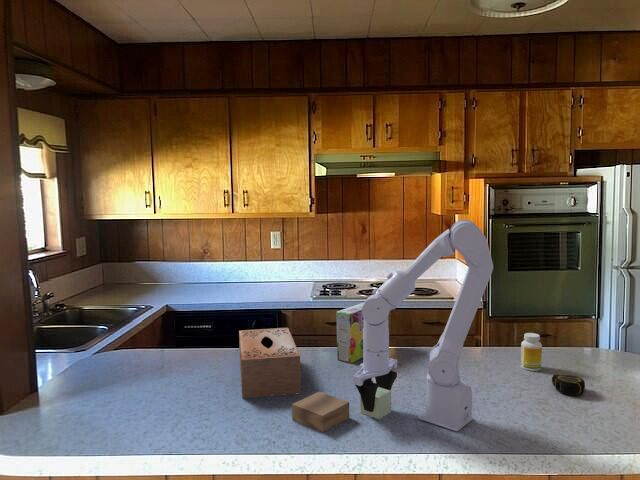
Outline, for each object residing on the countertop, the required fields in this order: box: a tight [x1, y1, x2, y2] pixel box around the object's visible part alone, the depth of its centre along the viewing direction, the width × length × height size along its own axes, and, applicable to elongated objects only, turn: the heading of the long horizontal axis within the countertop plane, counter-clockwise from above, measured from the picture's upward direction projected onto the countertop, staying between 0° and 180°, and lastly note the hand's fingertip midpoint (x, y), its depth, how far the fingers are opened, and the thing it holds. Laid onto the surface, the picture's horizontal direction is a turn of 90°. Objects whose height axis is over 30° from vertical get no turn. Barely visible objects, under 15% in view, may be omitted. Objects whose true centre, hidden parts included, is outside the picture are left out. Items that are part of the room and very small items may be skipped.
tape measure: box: [551, 374, 586, 396], centre depth 126 cm, size 7×7×4 cm
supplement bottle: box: [519, 332, 543, 372], centre depth 143 cm, size 5×5×10 cm
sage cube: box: [360, 387, 392, 420], centre depth 116 cm, size 5×5×5 cm
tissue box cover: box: [238, 327, 302, 399], centre depth 138 cm, size 26×14×10 cm, turn 10°
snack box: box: [335, 301, 390, 364], centre depth 157 cm, size 21×6×15 cm, turn 141°
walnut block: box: [291, 391, 350, 434], centre depth 113 cm, size 9×9×4 cm
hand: (375, 406), depth 116 cm, fingers closed on sage cube, 5 cm apart
